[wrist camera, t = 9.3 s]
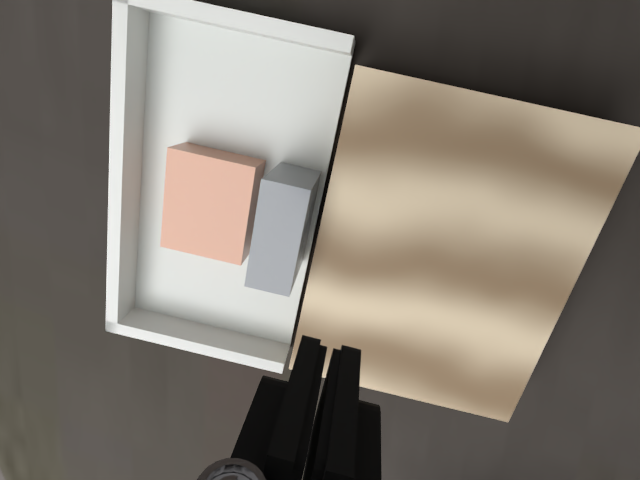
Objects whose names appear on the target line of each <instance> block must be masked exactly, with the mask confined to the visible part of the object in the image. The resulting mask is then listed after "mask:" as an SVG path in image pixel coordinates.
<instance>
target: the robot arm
mask: <svg viewBox="0 0 640 480" xmlns="http://www.w3.org/2000/svg"><path fill="white" fill-rule="evenodd" d="M320 343H321V339H317V338H313V337H309V336H305V335H302V338H301V341H300V345H299V348H298V351H297V355H296V358H295V362H294V365H293V368H292V372H291V375H290V378H289V382H287V381H283V380H279V379H275V378H271V377H267V376H263V377H262V379H261V381H260V384H259V386H258V389H257V391H256V394H255V396H254V399H253V401H252V404H251V407H250V409H249V412H248V414H247V417H246V419H245V422H244V424H243V427H242V430H241V432H240V435H239V437H238V440H237V442H236V445H235V448H234V450H233V453H232V455H231V458H226V459H223V460H219V461H216V462H215V463H213V464H211V465H210V466H208V467H207V468H206V469H205V470H204V471H203V472H202V473H201V475H200V476H199V477H198V479H197V480H301V479H302V475H303V471H304V476H303V480H381V412H380V406H379V405H376V404H372V403H368V402H365V401H361V400H359V384H360V366H361V349H357V348H353V347H349V346H345V345H342V346H341V349H340V350H339V349H335V348H333V351H332V355H331V359H330V362H329V366H328V370H327V374H326V378H325V382H324V385H323V389H322V393H321V397H320V401H319V404H318V408H317V412H316V416H315V411H316V405H317V400H318V395H319V389H320V384H321V379H322V373H323V368H324V363H325V357H326V352H327V346H323V345H320ZM314 416H315V420H314ZM313 421H314V424H313ZM312 427H313V428H312ZM311 432H312V433H311ZM310 437H311V438H310ZM308 448H309V449H308ZM307 453H308V454H307ZM306 458H307V460H306ZM305 463H306V465H305ZM304 467H305V470H304Z"/></svg>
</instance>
